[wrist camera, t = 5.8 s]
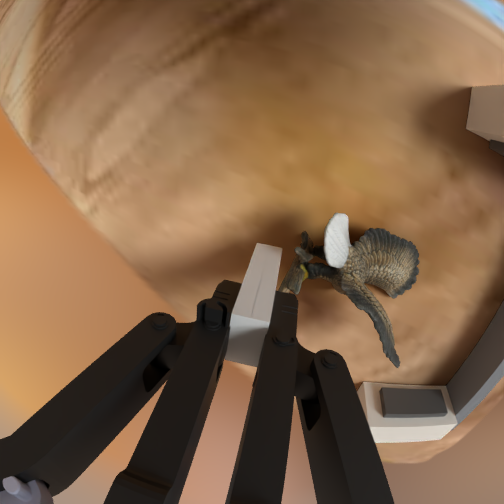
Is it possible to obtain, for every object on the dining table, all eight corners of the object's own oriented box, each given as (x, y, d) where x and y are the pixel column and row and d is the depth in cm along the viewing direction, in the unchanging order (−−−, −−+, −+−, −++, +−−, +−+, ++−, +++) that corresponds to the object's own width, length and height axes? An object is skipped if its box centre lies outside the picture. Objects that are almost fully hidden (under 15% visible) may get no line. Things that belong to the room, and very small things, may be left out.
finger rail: (471, 86, 11) (518, 84, 7) (566, 154, 10) (605, 170, 6) (351, 399, 24) (353, 442, 20) (444, 402, 23) (453, 437, 19)
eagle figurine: (270, 312, 20) (384, 360, 18) (258, 321, 13) (425, 388, 11) (313, 212, 20) (422, 261, 19) (323, 171, 13) (475, 245, 12)
